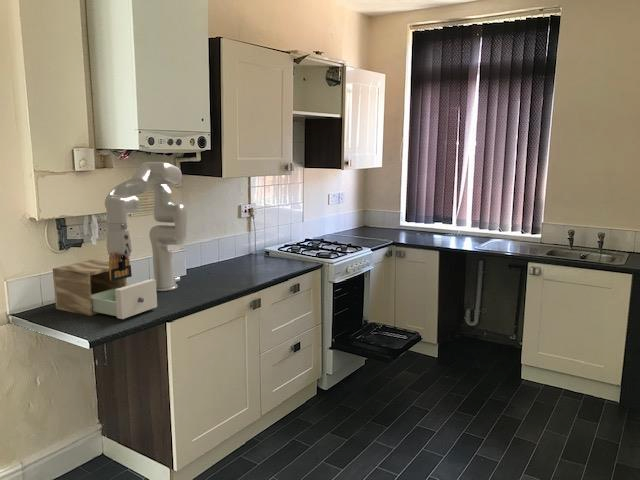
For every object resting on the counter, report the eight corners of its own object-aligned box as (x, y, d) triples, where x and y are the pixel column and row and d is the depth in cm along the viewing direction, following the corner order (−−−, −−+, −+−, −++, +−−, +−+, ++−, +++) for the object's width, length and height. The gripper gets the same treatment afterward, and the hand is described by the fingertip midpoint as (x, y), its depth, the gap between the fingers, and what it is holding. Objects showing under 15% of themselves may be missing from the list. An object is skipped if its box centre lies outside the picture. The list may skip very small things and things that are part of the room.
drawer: (119, 299, 245) (117, 273, 243) (159, 307, 233) (158, 280, 231) (83, 311, 228) (81, 283, 226) (124, 319, 217) (122, 290, 214)
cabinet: (94, 297, 253) (91, 259, 250) (127, 303, 243) (125, 264, 240) (56, 308, 236) (52, 268, 233) (90, 316, 226) (87, 274, 223)
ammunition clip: (111, 281, 223) (110, 253, 221) (108, 281, 224) (106, 252, 222) (131, 276, 232) (130, 249, 230) (128, 275, 233) (127, 248, 231)
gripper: (138, 227, 224) (140, 270, 227) (111, 224, 231) (114, 266, 234) (123, 229, 217) (126, 274, 220) (96, 226, 225) (99, 269, 228)
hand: (120, 269), depth 227 cm, fingers closed on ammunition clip, 2 cm apart
